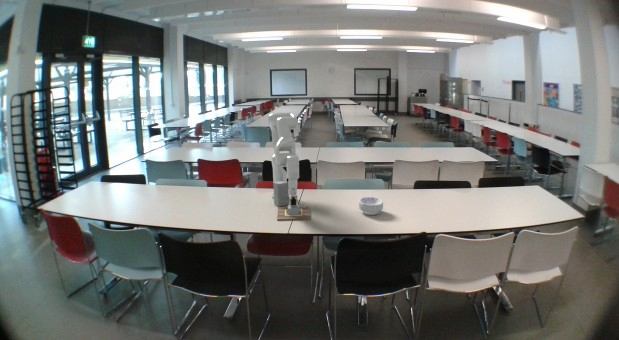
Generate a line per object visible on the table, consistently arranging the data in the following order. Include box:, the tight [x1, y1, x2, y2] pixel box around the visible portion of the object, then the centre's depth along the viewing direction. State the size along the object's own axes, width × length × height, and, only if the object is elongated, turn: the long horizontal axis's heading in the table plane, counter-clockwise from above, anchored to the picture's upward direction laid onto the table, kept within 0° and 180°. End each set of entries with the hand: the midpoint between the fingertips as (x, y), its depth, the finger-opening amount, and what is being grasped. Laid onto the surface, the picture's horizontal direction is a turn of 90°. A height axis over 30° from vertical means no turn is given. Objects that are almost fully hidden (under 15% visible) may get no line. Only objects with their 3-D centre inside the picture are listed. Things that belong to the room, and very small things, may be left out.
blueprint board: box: [276, 204, 311, 222], centre depth 219 cm, size 20×20×5 cm
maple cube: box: [289, 194, 298, 206], centre depth 218 cm, size 5×5×5 cm
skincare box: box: [273, 181, 290, 208], centre depth 235 cm, size 8×7×16 cm
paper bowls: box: [358, 196, 384, 216], centre depth 220 cm, size 15×15×8 cm
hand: (293, 203), depth 218 cm, fingers closed on maple cube, 4 cm apart
